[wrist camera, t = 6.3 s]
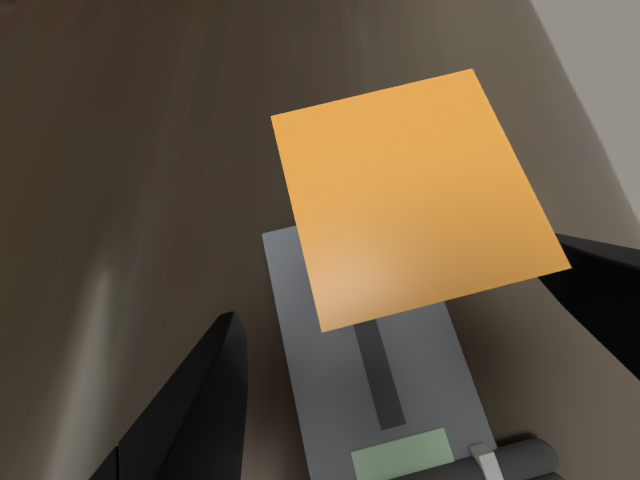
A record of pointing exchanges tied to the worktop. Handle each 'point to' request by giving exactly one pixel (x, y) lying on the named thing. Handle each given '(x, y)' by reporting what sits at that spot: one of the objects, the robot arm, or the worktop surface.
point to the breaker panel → (373, 382)
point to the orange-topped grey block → (410, 200)
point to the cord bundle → (498, 464)
